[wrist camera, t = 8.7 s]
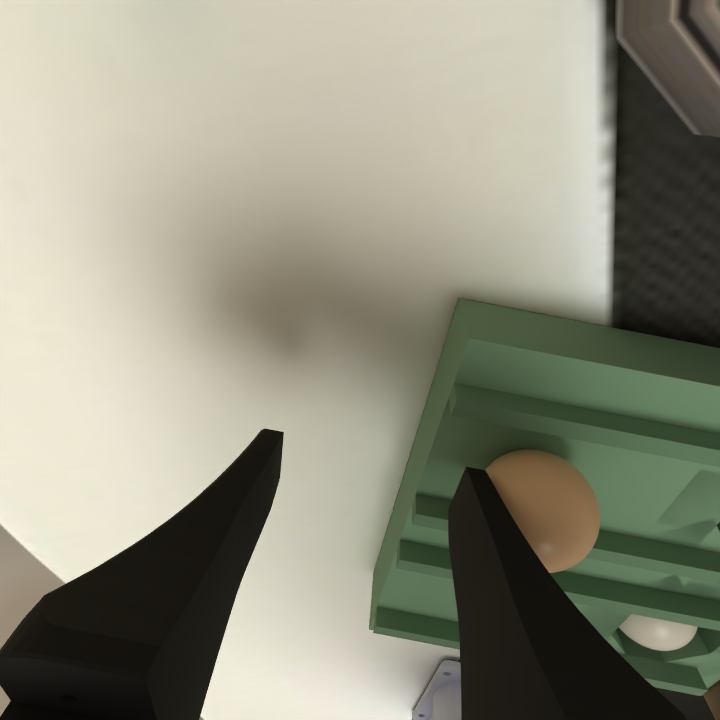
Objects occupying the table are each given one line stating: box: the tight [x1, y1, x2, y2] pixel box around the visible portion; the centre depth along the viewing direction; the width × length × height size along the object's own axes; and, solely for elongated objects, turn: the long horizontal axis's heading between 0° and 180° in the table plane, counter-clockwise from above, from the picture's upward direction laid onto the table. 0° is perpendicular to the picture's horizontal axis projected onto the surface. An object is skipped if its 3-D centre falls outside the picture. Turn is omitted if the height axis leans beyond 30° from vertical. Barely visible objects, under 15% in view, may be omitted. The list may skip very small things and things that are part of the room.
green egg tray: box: [369, 298, 720, 696], centre depth 18 cm, size 17×17×4 cm
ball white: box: [619, 614, 698, 651], centre depth 20 cm, size 4×4×4 cm
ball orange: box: [485, 449, 600, 573], centre depth 13 cm, size 4×4×4 cm
